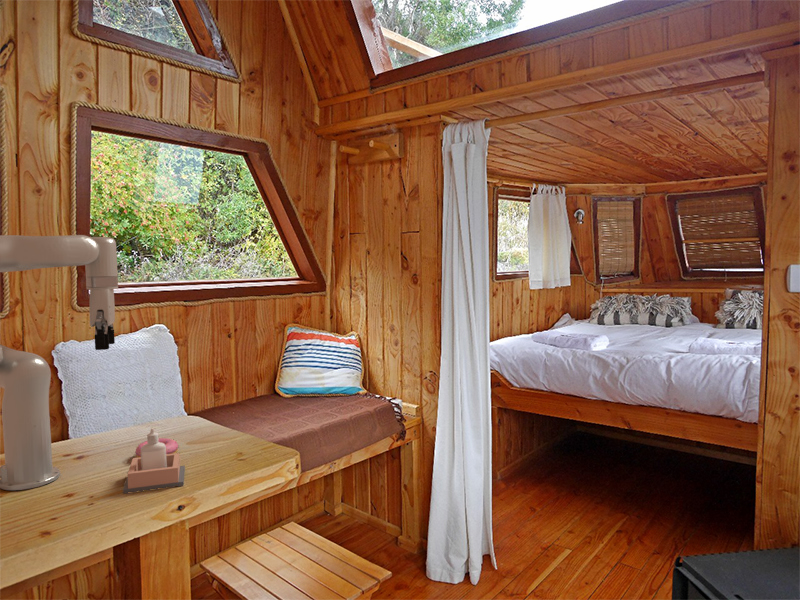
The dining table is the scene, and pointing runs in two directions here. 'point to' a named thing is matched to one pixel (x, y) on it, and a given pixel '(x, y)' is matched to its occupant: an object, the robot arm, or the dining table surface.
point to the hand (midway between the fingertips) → (105, 346)
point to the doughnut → (169, 443)
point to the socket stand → (155, 475)
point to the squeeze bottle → (153, 453)
